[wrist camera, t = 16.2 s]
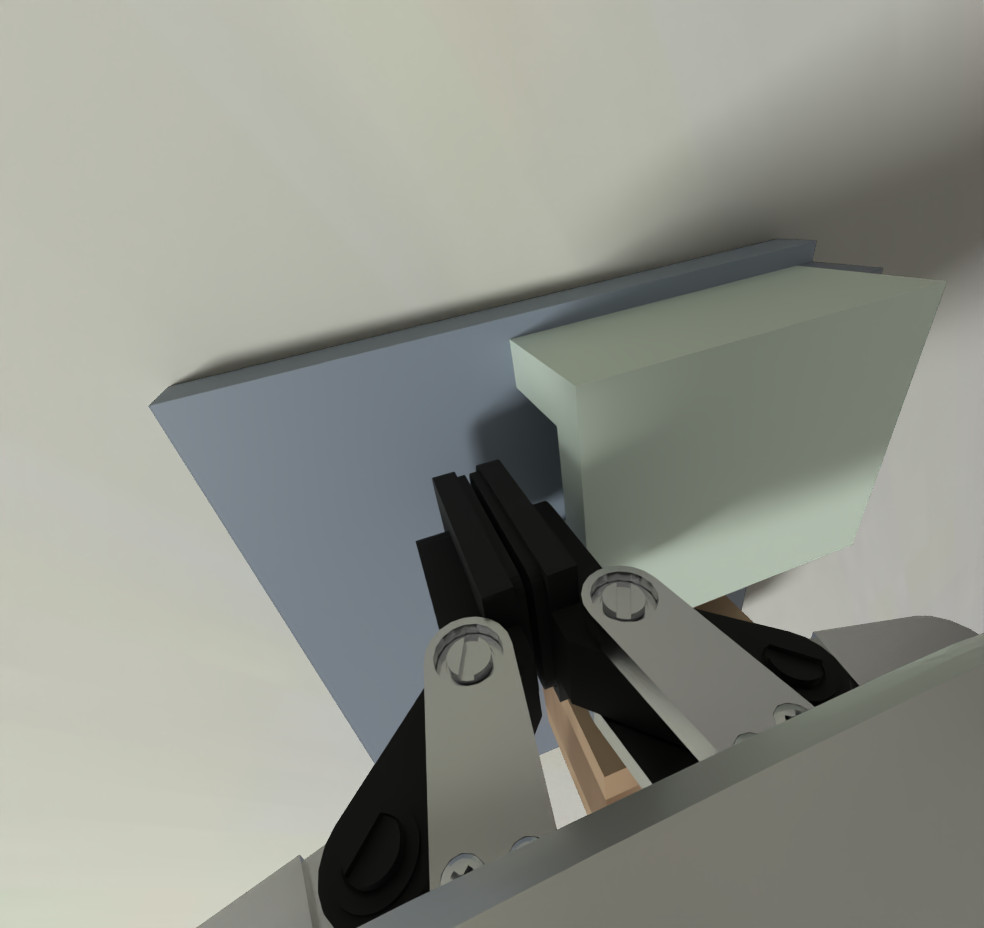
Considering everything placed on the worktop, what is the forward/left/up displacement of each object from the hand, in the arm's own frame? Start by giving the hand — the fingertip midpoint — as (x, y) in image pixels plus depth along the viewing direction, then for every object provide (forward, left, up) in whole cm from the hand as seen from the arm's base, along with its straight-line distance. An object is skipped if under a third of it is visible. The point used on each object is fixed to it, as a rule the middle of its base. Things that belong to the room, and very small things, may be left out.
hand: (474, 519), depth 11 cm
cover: (-6, 0, -1) cm, 6 cm away
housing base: (-2, +5, -3) cm, 6 cm away
